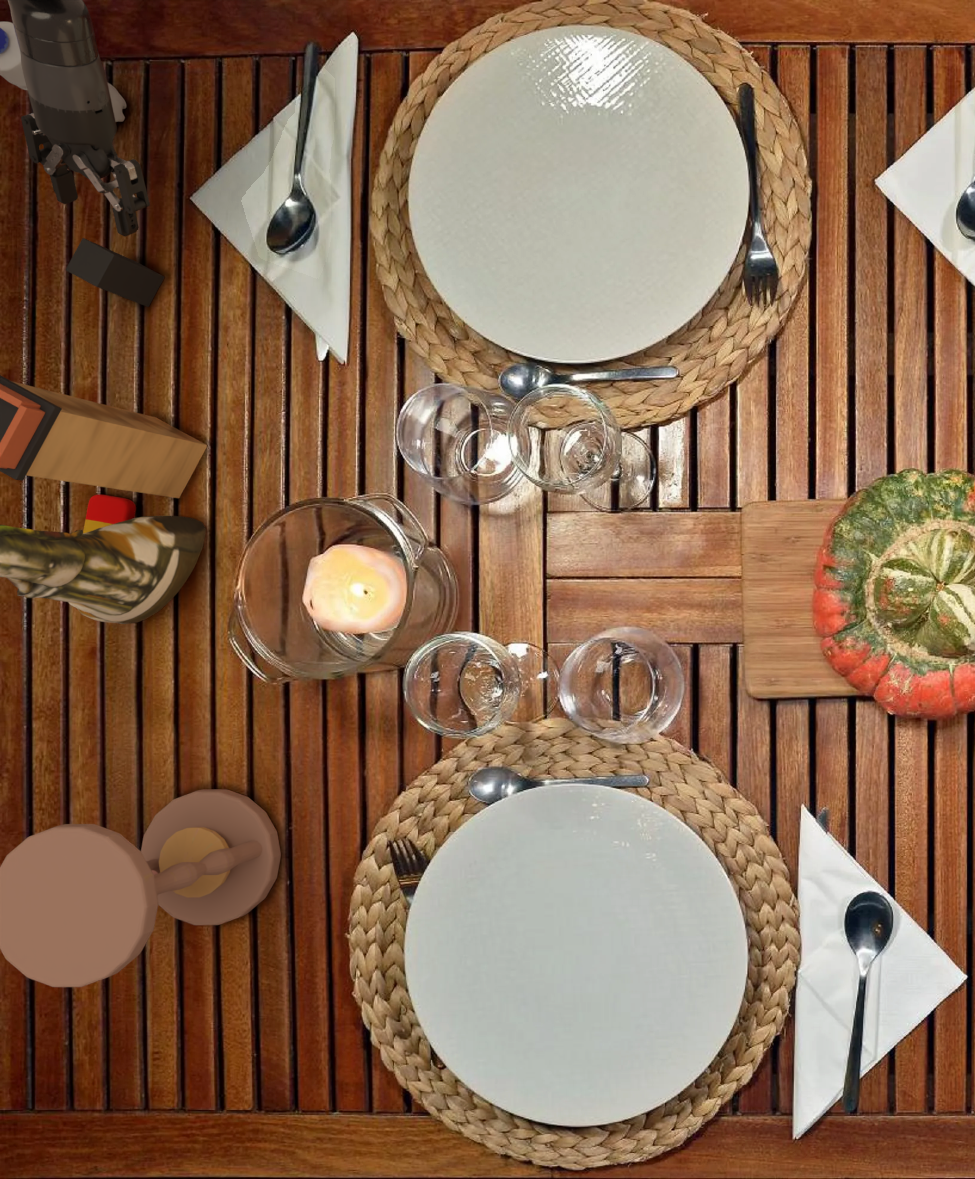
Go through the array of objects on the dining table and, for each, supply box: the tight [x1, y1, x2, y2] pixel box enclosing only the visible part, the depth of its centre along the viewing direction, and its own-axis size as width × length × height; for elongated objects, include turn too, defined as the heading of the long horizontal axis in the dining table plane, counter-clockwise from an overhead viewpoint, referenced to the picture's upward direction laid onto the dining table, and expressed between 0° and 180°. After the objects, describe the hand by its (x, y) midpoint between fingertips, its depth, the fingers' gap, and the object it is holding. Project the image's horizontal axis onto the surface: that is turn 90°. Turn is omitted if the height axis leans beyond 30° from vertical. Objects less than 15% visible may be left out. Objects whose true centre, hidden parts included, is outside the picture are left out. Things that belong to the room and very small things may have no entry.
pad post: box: [65, 237, 165, 308], centre depth 138 cm, size 5×5×9 cm
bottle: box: [0, 21, 127, 123], centre depth 133 cm, size 7×7×20 cm
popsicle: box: [82, 493, 137, 533], centre depth 141 cm, size 6×15×2 cm, turn 170°
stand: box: [11, 380, 208, 499], centre depth 130 cm, size 8×8×25 cm
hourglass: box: [0, 788, 282, 988], centre depth 128 cm, size 18×18×25 cm
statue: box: [0, 514, 207, 625], centre depth 124 cm, size 16×11×35 cm, turn 142°
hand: (98, 217), depth 132 cm, fingers open, 8 cm apart
